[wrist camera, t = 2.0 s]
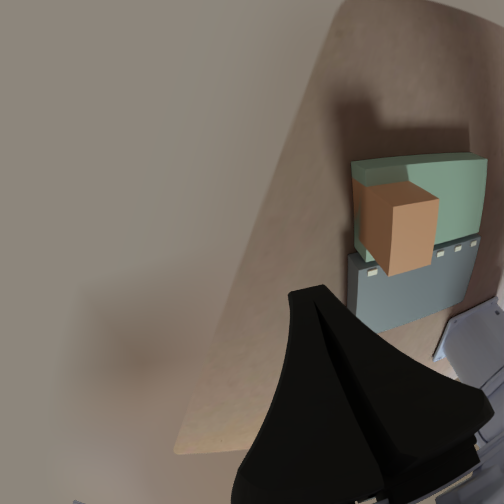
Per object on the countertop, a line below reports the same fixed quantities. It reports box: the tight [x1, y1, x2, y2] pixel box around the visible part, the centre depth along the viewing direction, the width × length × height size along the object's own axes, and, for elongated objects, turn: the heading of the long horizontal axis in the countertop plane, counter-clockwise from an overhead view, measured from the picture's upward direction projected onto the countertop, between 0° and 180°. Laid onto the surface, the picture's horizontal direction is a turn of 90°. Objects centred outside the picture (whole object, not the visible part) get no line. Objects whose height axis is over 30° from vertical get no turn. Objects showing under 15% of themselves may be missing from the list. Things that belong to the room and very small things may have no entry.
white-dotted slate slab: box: [347, 233, 481, 334], centre depth 19 cm, size 12×7×2 cm, turn 101°
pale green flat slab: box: [351, 152, 488, 277], centre depth 14 cm, size 11×6×5 cm, turn 101°
